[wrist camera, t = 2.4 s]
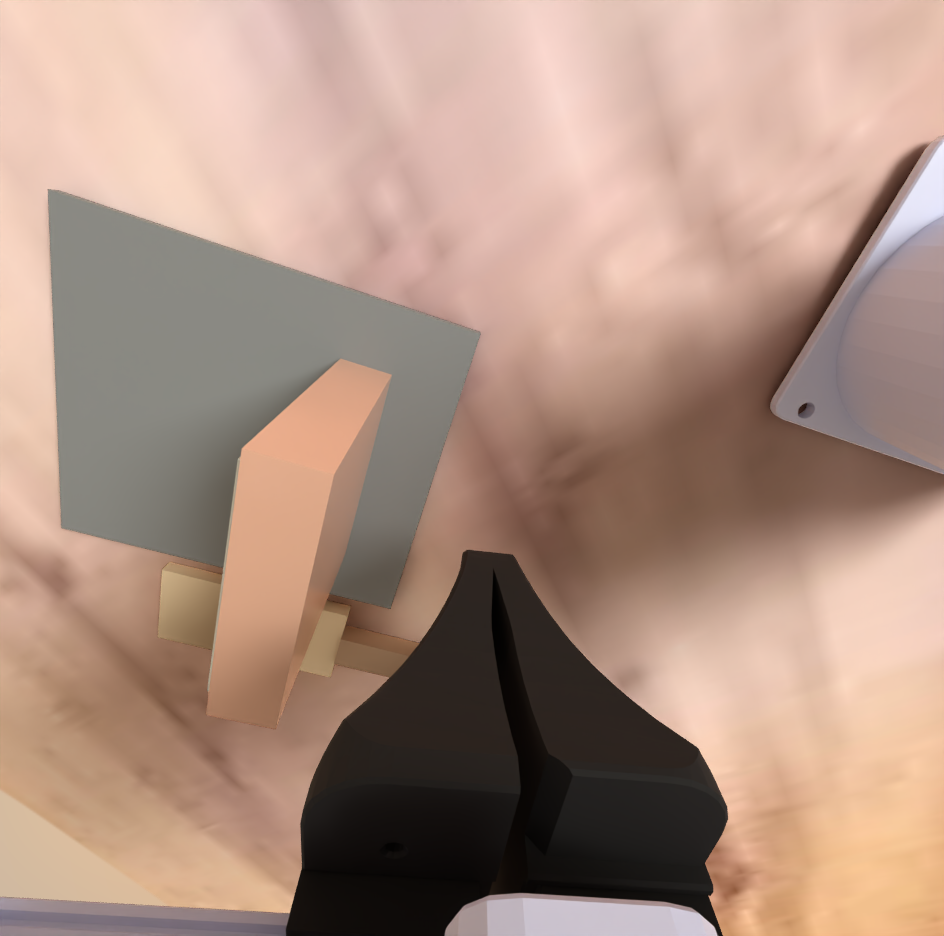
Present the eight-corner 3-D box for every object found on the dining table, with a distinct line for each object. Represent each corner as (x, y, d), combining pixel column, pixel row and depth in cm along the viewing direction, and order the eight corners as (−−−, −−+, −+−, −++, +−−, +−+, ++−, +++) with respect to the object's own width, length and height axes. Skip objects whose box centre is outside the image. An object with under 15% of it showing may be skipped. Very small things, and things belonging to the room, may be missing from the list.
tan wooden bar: (559, 658, 20) (562, 673, 20) (529, 712, 22) (531, 728, 21) (171, 560, 18) (158, 573, 18) (165, 626, 20) (154, 641, 19)
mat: (480, 332, 15) (480, 334, 14) (391, 601, 19) (390, 608, 19) (59, 190, 13) (47, 189, 13) (70, 522, 17) (61, 527, 17)
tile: (392, 375, 15) (333, 474, 8) (345, 553, 18) (275, 729, 11) (335, 357, 15) (232, 445, 8) (297, 541, 17) (199, 713, 11)
